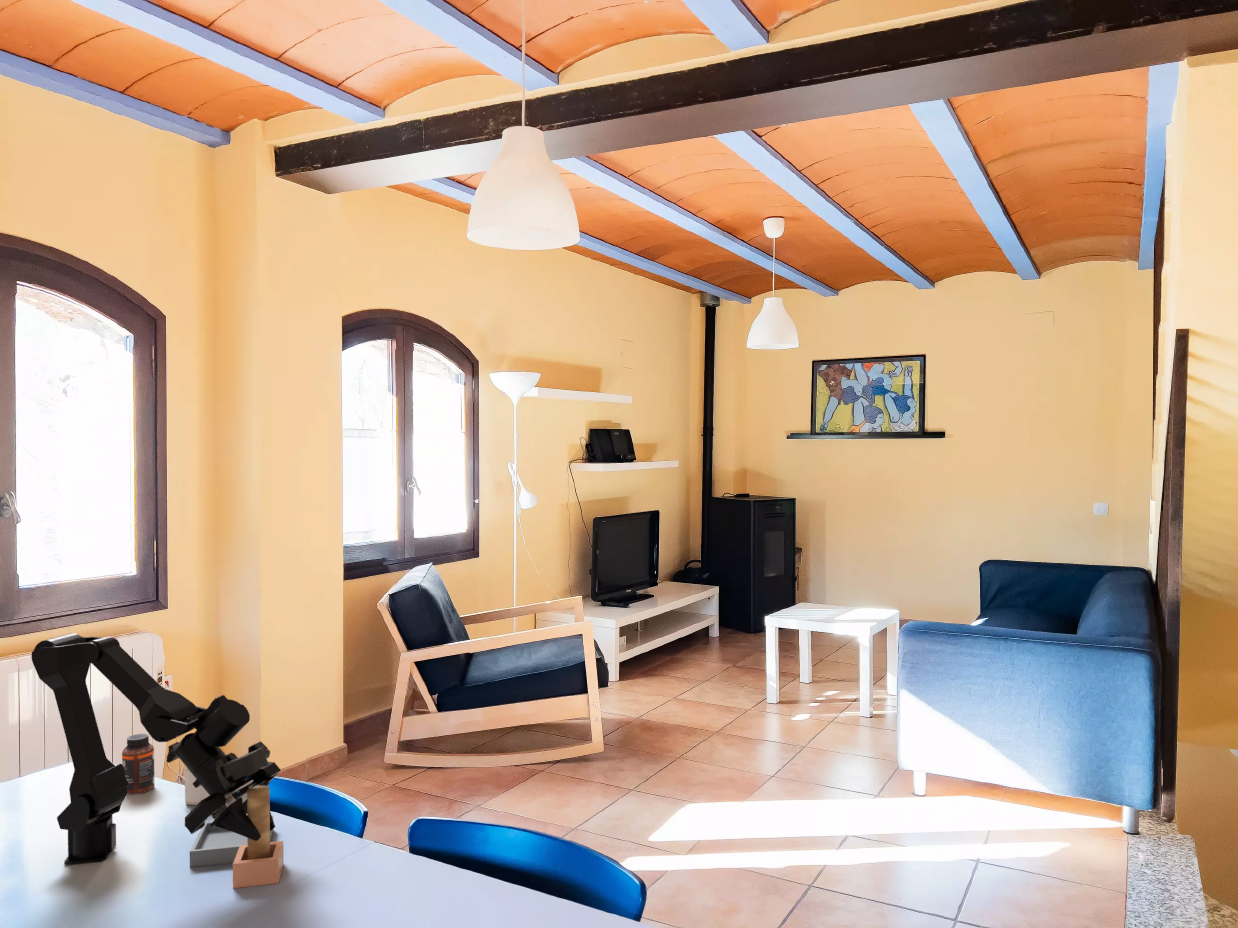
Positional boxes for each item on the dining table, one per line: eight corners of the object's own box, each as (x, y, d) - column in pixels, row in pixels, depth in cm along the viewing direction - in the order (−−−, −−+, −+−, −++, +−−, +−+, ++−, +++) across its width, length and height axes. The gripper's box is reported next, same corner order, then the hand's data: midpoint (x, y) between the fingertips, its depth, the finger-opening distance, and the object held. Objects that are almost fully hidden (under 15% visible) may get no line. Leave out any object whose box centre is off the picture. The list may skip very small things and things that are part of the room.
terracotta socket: (232, 888, 145) (232, 864, 144) (240, 867, 151) (240, 844, 151) (278, 882, 146) (278, 859, 146) (283, 863, 153) (283, 840, 153)
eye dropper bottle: (201, 808, 176) (200, 749, 175) (181, 803, 178) (181, 744, 178) (219, 800, 180) (219, 742, 179) (200, 795, 182) (199, 738, 182)
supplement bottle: (160, 784, 188) (160, 732, 187) (143, 795, 182) (142, 741, 182) (134, 783, 188) (133, 731, 188) (116, 794, 182) (115, 740, 182)
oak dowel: (246, 877, 147) (245, 794, 146) (249, 867, 150) (248, 786, 150) (268, 875, 148) (267, 792, 147) (271, 865, 151) (270, 784, 151)
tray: (189, 866, 152) (189, 851, 152) (204, 836, 163) (204, 822, 163) (264, 858, 155) (264, 843, 155) (273, 829, 166) (273, 815, 166)
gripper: (199, 751, 140) (261, 827, 138) (271, 716, 158) (326, 782, 156) (157, 796, 142) (217, 871, 140) (232, 755, 160) (287, 821, 158)
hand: (265, 833), depth 148 cm, fingers closed on oak dowel, 3 cm apart
